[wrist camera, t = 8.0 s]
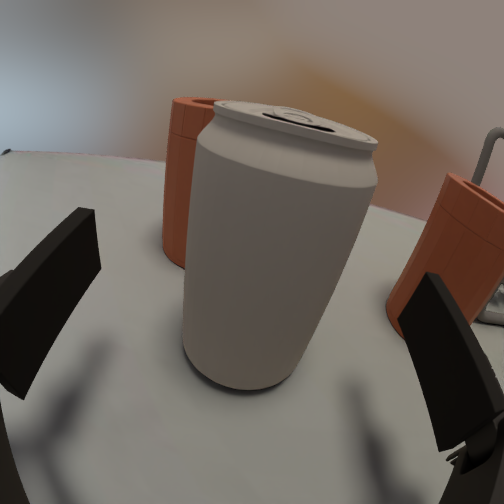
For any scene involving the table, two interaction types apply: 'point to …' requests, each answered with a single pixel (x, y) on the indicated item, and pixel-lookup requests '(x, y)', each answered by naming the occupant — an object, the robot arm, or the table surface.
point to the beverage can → (268, 236)
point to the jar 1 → (182, 170)
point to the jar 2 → (457, 249)
